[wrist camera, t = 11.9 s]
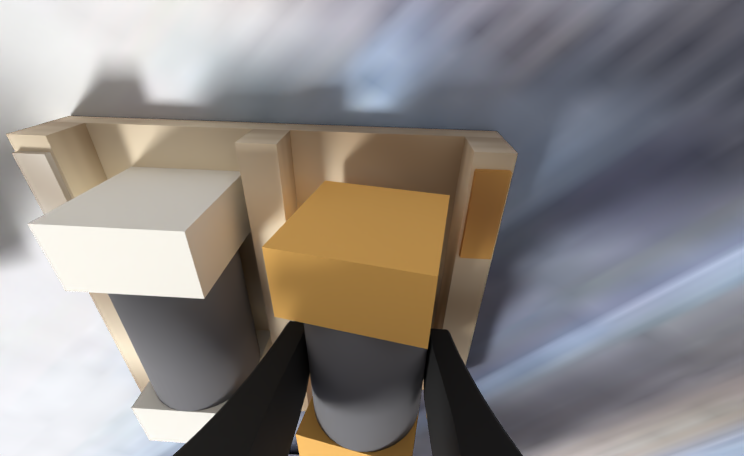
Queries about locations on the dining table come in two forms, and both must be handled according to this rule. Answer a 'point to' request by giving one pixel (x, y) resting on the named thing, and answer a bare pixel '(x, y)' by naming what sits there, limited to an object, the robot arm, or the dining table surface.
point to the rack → (290, 190)
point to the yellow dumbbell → (360, 311)
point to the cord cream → (166, 284)
